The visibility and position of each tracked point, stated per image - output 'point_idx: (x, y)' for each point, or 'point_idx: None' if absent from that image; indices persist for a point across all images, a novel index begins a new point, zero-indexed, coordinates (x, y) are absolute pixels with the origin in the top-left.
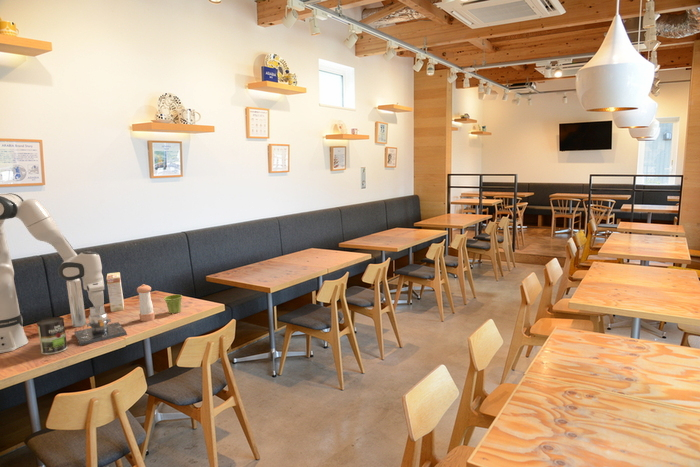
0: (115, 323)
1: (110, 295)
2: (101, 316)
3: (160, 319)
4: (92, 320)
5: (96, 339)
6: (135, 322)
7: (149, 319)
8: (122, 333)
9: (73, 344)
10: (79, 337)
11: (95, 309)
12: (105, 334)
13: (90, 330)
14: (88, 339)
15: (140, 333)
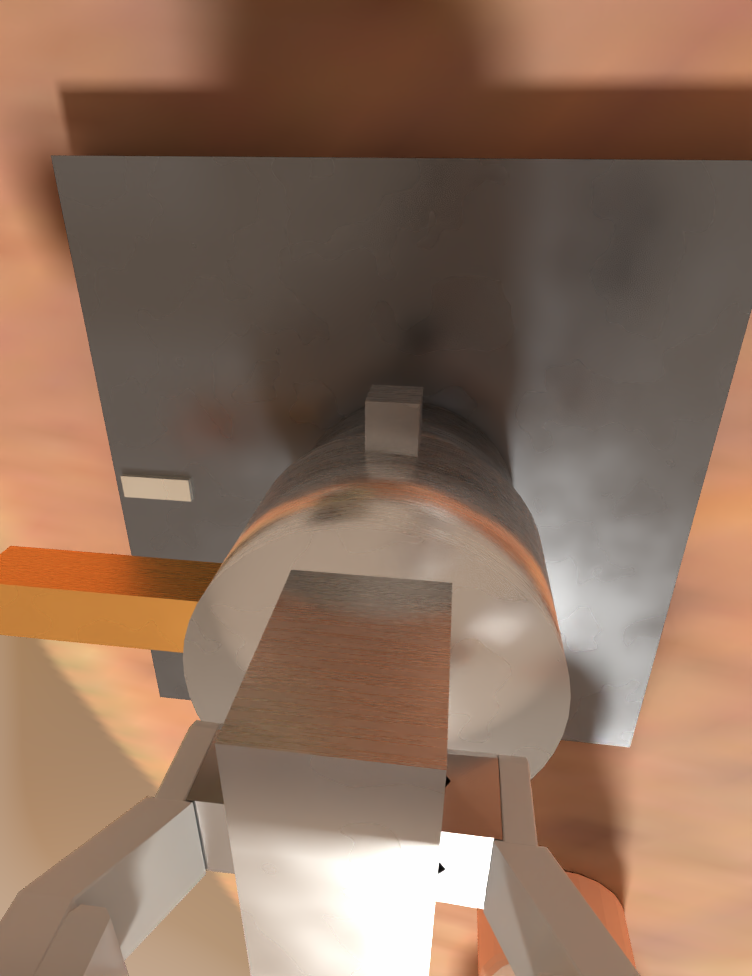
0: (604, 714)
1: None
2: (200, 708)
3: (434, 952)
4: (251, 530)
5: (105, 393)
6: (543, 831)
7: (478, 919)
8: (157, 657)
9: (204, 63)
10: (329, 193)
11: (220, 803)
12: (210, 523)
13: (580, 412)
14: (128, 300)
15: (134, 752)
